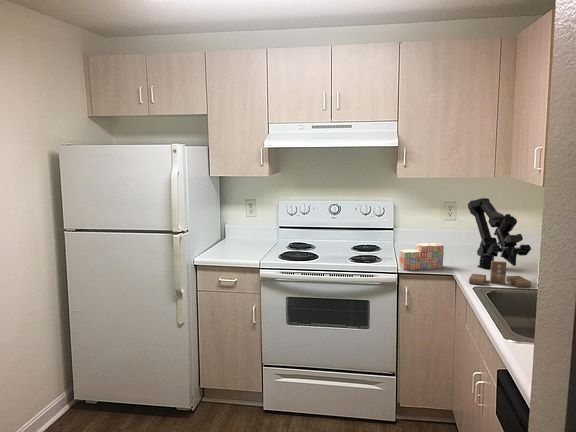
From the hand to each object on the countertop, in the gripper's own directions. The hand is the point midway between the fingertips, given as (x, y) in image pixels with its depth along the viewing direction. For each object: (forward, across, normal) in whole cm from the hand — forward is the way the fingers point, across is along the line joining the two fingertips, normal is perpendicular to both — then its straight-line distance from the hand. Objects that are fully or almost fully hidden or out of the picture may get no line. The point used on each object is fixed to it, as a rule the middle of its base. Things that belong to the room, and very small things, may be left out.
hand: (514, 265), depth 221 cm
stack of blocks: (-15, -34, +26) cm, 45 cm away
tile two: (+4, 0, +5) cm, 6 cm away
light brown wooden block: (+6, -8, +5) cm, 12 cm away
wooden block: (+1, -14, +8) cm, 16 cm away
